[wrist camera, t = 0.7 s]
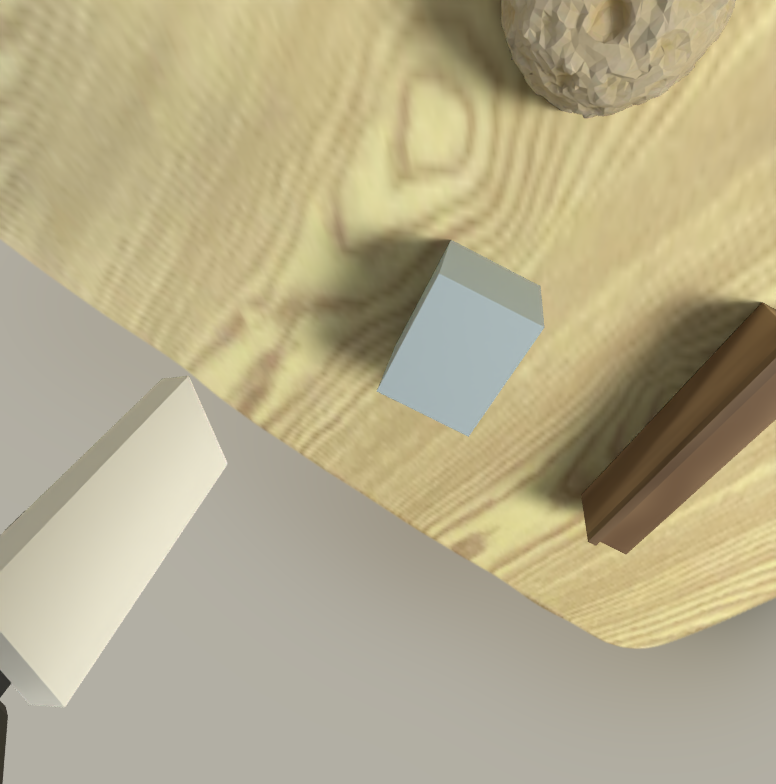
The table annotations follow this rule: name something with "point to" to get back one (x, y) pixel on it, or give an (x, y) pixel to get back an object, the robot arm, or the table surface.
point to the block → (463, 339)
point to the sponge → (609, 47)
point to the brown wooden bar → (688, 437)
